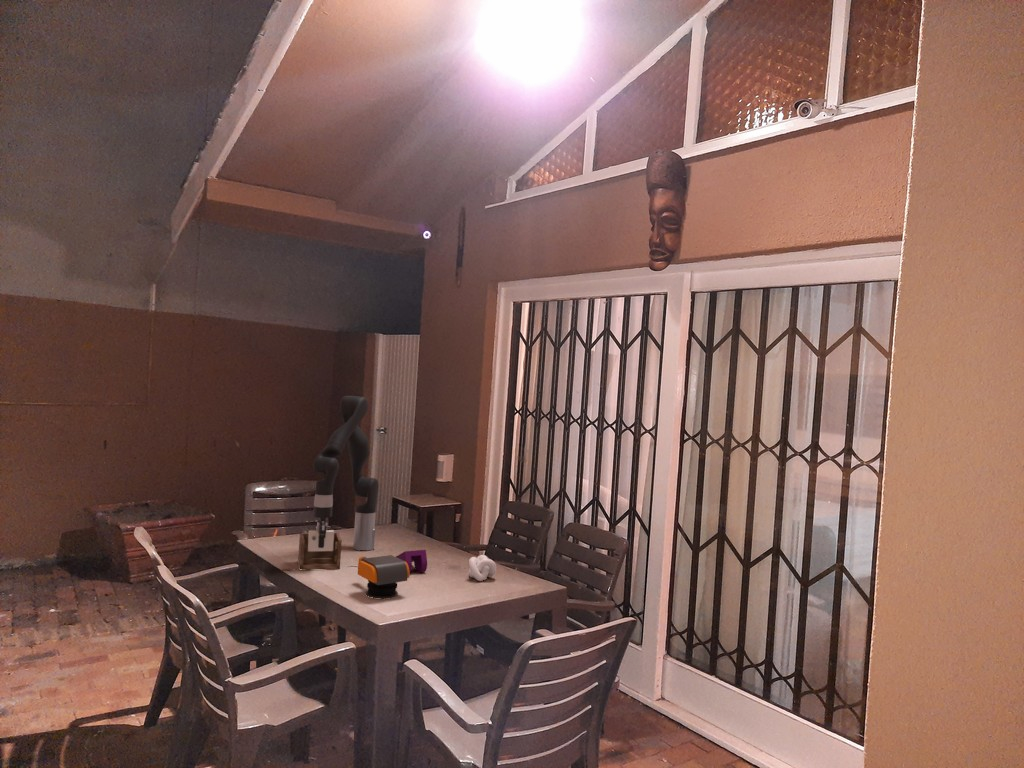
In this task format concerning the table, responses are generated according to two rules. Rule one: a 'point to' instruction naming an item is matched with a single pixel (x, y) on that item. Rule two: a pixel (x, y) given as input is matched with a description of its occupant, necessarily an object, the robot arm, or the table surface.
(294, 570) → the table surface
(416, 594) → the table surface
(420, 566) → the mounting bracket
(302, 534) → the cabinet
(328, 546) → the door
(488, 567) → the white knot
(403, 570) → the sander
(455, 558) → the table surface
